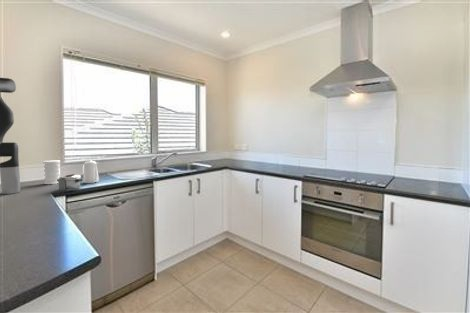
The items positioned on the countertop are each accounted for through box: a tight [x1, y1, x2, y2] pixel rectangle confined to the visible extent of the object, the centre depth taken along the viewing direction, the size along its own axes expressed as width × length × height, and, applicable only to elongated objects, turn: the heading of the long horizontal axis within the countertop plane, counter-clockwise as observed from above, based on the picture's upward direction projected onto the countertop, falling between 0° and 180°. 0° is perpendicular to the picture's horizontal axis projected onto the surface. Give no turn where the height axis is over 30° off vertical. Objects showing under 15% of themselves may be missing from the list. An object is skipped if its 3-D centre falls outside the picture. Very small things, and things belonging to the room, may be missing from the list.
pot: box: [57, 177, 83, 192], centre depth 168 cm, size 14×16×8 cm
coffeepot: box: [82, 159, 100, 184], centre depth 194 cm, size 11×25×19 cm, turn 58°
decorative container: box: [42, 159, 61, 185], centre depth 190 cm, size 12×12×18 cm
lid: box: [59, 173, 81, 179], centre depth 168 cm, size 13×12×2 cm
